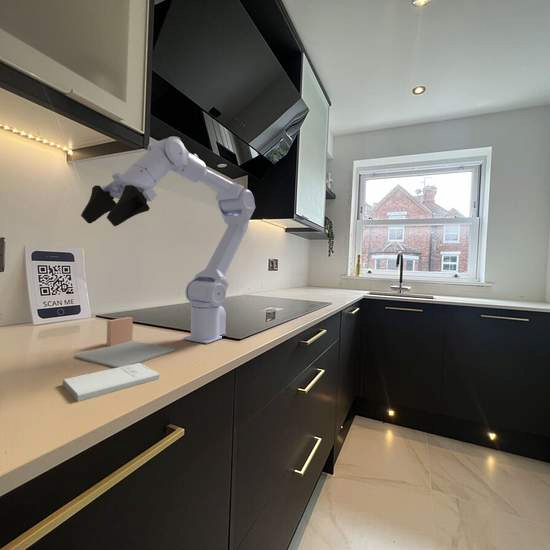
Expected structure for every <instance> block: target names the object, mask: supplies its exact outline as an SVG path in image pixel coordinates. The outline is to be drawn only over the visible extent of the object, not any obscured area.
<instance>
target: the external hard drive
mask: <svg viewBox="0 0 550 550" xmlns="http://www.w3.org/2000/svg"><path fill="white" fill-rule="evenodd" d="M156 380H160V374H159V372H157V371H156V370H153V369H151V367H148V366H147V365H145V364H143V363H142V362H141V363H137V364H132V365H128V366H123V367H118V368H113V367H112V368H109V369H105V370H99V371H96V372H95V371H94V372H92V373H91V372H90V373H86V374H81V375H77V376H73V377H68V378H64V379H62V386H63V387H64V388H65V390H67V392H69V394H70V395H71V396H72V397H73V398H74V400H76V402H81V401H86V400H89V399H93V398H97V397H99V396H102V395H107V394H109V393H110V394H111V393H114V392H117V391H120V390H125V389H128V388H132V387H135V386H138V385H142V384H145V383H150V382H152V381H156Z"/></svg>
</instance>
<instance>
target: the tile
mask: <svg viewBox="0 0 550 550" xmlns="http://www.w3.org/2000/svg"><path fill="white" fill-rule="evenodd" d="M133 320H134V318H133V317H132V316H127V317H122V318H117V319H116V318H115V319H111V320H106V347H109V346H113V345H117V344H121V343H125V342H128V341H133V329H134V328H133V324H134V323H133Z"/></svg>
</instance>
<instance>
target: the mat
mask: <svg viewBox="0 0 550 550" xmlns="http://www.w3.org/2000/svg"><path fill="white" fill-rule="evenodd" d="M175 351H176V348H171V347H167V346H161V345H157V344H154V343H153V344H152V343H147V342H141V341H138V340H137V341H136V340H132V341H128V342H125V343H121V344H117V345H113V346H106V347H102V348H99V349H94V350H91V351H87V352H83V353H80V354H74V358H76V359H79V360H80V359H81V360H83V361H88V362H91V363H95V364H98V365H99V364H100V365H102V366H107V367H110V368H112V369H113V368H118V367H123V366H128V365H132V364H137V363H141V364H142V363H144V362H147V361H149V360H152V359H155V358H159V357H162V356H164V355H167V354H170V353H172V352H175Z"/></svg>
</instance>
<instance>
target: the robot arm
mask: <svg viewBox="0 0 550 550" xmlns="http://www.w3.org/2000/svg"><path fill="white" fill-rule="evenodd" d="M146 150H147V151H146V153H144V154H143V155H141V157H140V158H139V159H137V160H136V161H135V162H134V163H133V164H132V165H131V166H130V167H129V168H128V169H126V171H124V172H123V173H122V174H121V173H120V172H113V174H111V177H112V179H113V180H112V181H111V182H109V183H108V184H106V185H102V186H101V185H94V186H93V187H91V194H90V197H89V200H88V202H87V204H86V205H85V207H84V209H83V210H82V213H81V214H80V217H81V218H82V219H83V220H84V221H85V222H87V223H88V224H92V223H94V222H96V221H97V220H99V218H101V217H102V216H105V214H107V216H106V219H107V220H108V221H109V222H110V223H111V225H112V226H113V227H117V226H119V225H121V224H122V223H124V222H126V221H127V220H129V219H131V218H132V217H134V216H137V215H139V214H142V213H145V212H149V210H150V209H151V208H150V206H149V204H148V202H153V201H154V200H155V198H156V197H157V196H158V194H157V193H156V191H155V190H154V188H155V187H156V186H157V185H158V184H159V182H161V181H162V180H163V178H165V176H166V175H167V174H168V173H169V172H170V171H172V172H173V173H176V174H177V175H180V176H181V177H183V178H185V179H186V180H189V181H190V182H192V183H198V182H200V183H203V184H204V185H206V186H207V187H208V188H210V189H212V190H213V191H215V192H217V193H216V196H215V201H217V207H218V209H219V211H220V214H221V216H222V218H223V221H224V223H225V224H227V226H226V227H227V228H226V229H225V231H224V233H223V234H222V237H221V239H220V241H219V243H218V244H217V247H216V248H215V250H214V252H213V254H212V256H211V258H210V260H209V261H208V263H207V265H206V268H205V269H203V270H201V271H200V272H198V273H196V274H195V276H194V278H193V279H191V280H190V281H189V282H188V283H187V285H186V287H185V294H184V295H185V298H186V300H187V301H189V305H190V306H191V309H190V310H191V314H190V317H191V318H190V320H191V321H190V335H188V336H184V337H183V340H184V341H191V342H196V343H201V344H202V343H203V344H210V343H212V342H213V343H214V342H216V341H219V340H221V339H223V338H222V336H220V335H222V334H226V321H227V319H226V318H227V313H226V310H225V308H224V307H223V306H222V304H223V303H224V301H225V299H226V295H227V290H228V288H229V282H228V281H227V278H226V277H225V276H226V274H227V272H228V271H229V270H228V269H229V268H230V266H231V264H232V261H233V260H234V257H235V255H236V253H237V251H238V249H239V246H241V243H242V241H243V239H244V238H245V235H246V232H247V230H248V227H249V224H250V223H249V222H250V219H251V217H252V216H253V213H254V211H255V209H256V204H255V197H254V195H253V193H252V191H251V190H249V189H245V187H244V186H243V185H241V184H238V183H235V182H232V181H230V180H228V179H227V178H224V177H223V176H222V175H219V174H217V173H215V172H213V171H212V170H209V169H208V168H207V166H206V163H205V161H203V160H201V159H200V158H199V156H198V155H197V154H196V153H193V154H192V153H191V152H190V151H188V150H187V148H186V147H185V145H184V143H183V142H182V141H181V139H179V138H176V137H167V138H163V139H161V140H157V141H154V142H152V143H149V144H148V146H147V149H146ZM115 198H116V199H118V201H117V202H116V201H115V200H114V199H115Z"/></svg>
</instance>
